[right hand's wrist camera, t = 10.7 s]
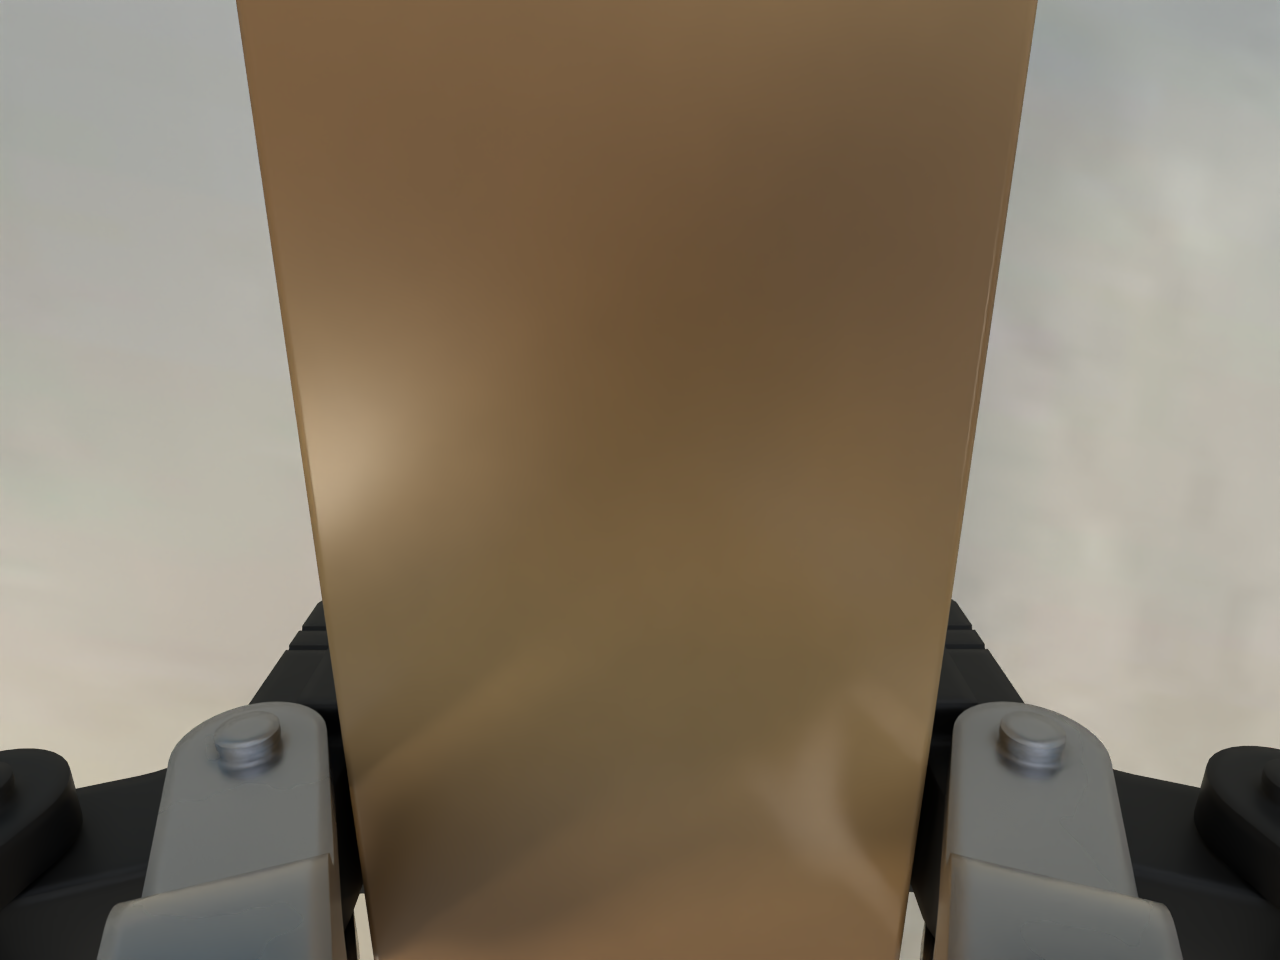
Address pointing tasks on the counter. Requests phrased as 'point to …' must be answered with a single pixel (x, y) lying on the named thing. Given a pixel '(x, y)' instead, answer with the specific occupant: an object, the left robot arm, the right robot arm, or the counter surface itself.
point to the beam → (636, 446)
